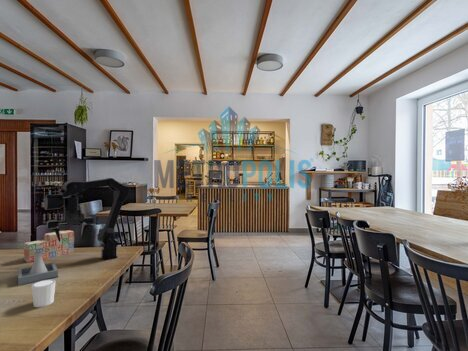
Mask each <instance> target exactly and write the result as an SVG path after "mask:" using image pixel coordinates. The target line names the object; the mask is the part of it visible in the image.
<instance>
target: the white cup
mask: <svg viewBox="0 0 468 351" xmlns="http://www.w3.org/2000/svg"><path fill="white" fill-rule="evenodd" d="M55 291H56V280H55V279H53V278H52V279H48V280H42V281H38V282H34V283H31V294H32V303H33V307H35V308H43V307H46V306H49V305H51V304H53V303H54V301H55Z"/></svg>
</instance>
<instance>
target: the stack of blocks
mask: <svg viewBox="0 0 468 351" xmlns="http://www.w3.org/2000/svg"><path fill="white" fill-rule="evenodd" d="M59 234H60V242H59V240H58V238H57V235H56V233H55V231H54V232H48V233H45V234H44V239H40V240H34V241H28V242H24V245H23V246H24V248H23V257H24V258H23V259H24V261H25V262H26V263H28V264H29V263H34V258H35V255H34V252H38V251H43V253H42V258H43V260H47V259H51V258H56V257H59V256H64V255H69V254H72V253H74V252H75V232H74V231H73V230H70V229H68V230H67V229H66V230H59Z"/></svg>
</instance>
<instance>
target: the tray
mask: <svg viewBox="0 0 468 351" xmlns="http://www.w3.org/2000/svg"><path fill="white" fill-rule="evenodd" d="M44 264H45V266H46V268H47V270H48V272H43V273H38V274H33V275H29V273H30V271H31V268H32V266H27V267H20V268H17V283H18V284H17V285H18V287H21V286H24V285H29V284H34V283H36V282H39V281H42V280H49V279H52V280H53V279H57V278H59V269H58V268H57V265H56V264H55V261H54V262H48V263H44Z"/></svg>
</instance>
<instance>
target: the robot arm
mask: <svg viewBox="0 0 468 351" xmlns="http://www.w3.org/2000/svg"><path fill="white" fill-rule="evenodd" d="M102 187H108V188H109V189H111V191H113V196H112V197H113V201H112V205H111V208H110V211H109V213H108V216H107V219H106V222H105V225H104V227H102V228H99V230H98V233H97V235H96V237H97V238H96V239H97V241H98V242H99V243H100V245H101V246H102V248H101V252H100V254H101V255H100V256H101V259H103V260H104V261H107V260H113V259H117V258H118V256H117V247H118V246H119V242H118V241H117V240H116V239H115V236H116V234H115V227H116V225H117V221H118V218H119V214H120V212H121V209H122V206H123V203H124V202H125V201H126V200H127V199H128V197H129V194H130V192H131V190H130V188H129V186H126V185H124V184H123V183H120V182H118V181H117V180H115V179H114V178H111V177H106V178H103V179H95V180H94V179H93V180H88V181H66V182H64V183H63V184H62V188H61V189H60V190H59V192H58V193H57V194H46V195H45V197H44V201H43V207H44V208H43V209H44V210H45V211H47V210H59V209H61V208H62V207H63V220H57V219H51V220H50V219H49V220H47V221H46V228H47V229H50V230H53V231H54V232H55V233H56V235H57V238H58V240H59V242H60V234H59V231H60V227H59V226H65V225H67V226H78V225H80V224H81V232H80V238H81V239H83V238H84V235H85V234H86V233H85V232H86V231H87V228H88V227H90V226H92V225H93V224H95V220H94V218H93V217H92V216H85V214H84V213H79V199H81V198H82V199H83V198H84V197H83V195H81V194H80V193H81V192H83V191H86V190H88V189H95V188H96V189H97V188H102Z"/></svg>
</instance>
